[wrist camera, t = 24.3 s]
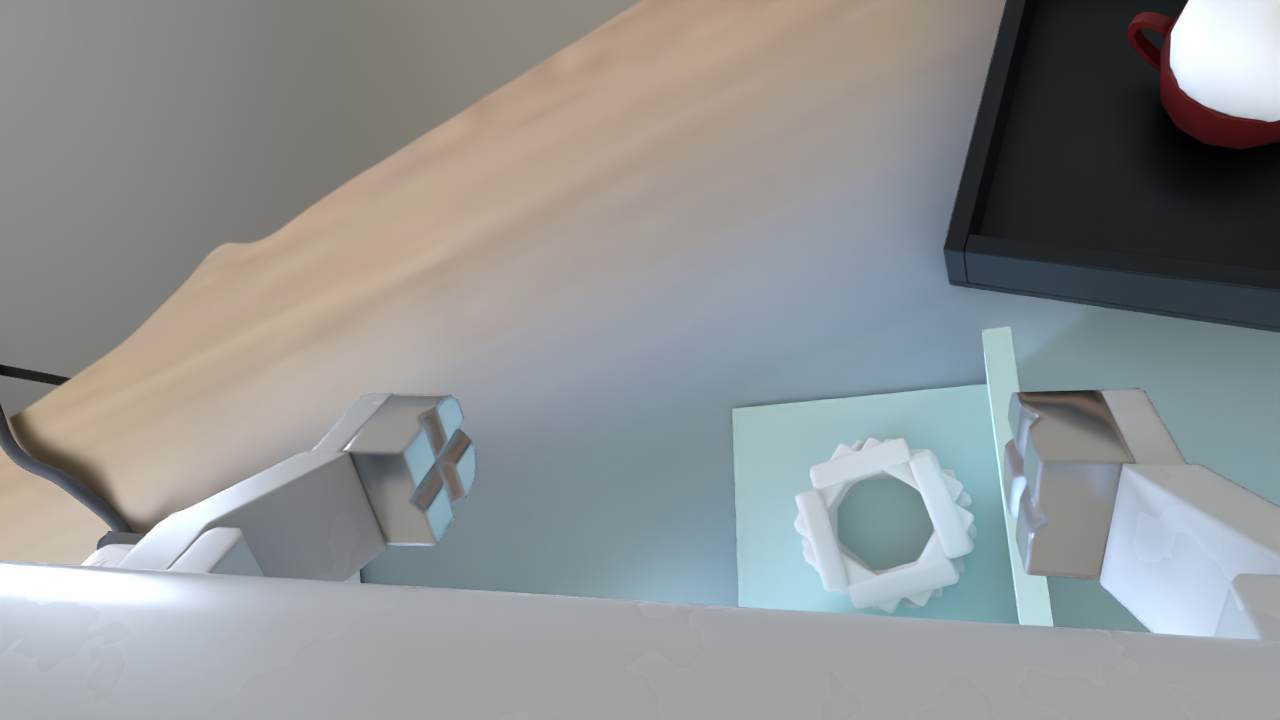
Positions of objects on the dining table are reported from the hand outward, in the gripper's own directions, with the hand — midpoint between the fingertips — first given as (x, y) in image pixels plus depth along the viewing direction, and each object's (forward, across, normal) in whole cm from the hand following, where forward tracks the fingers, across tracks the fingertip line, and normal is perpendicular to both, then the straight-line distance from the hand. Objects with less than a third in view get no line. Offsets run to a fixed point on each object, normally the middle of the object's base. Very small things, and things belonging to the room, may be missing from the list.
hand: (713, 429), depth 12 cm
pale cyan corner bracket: (+17, -3, +17) cm, 24 cm away
